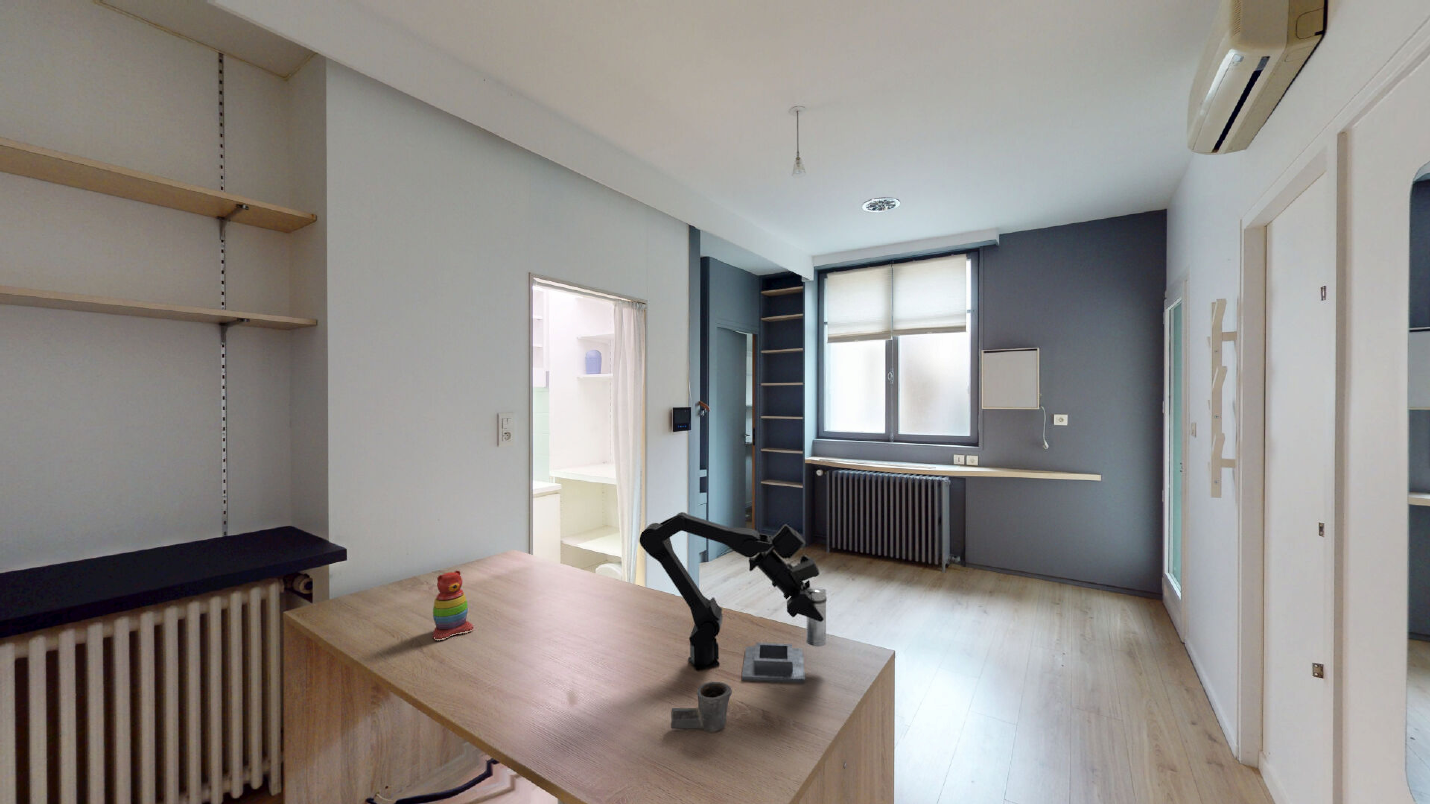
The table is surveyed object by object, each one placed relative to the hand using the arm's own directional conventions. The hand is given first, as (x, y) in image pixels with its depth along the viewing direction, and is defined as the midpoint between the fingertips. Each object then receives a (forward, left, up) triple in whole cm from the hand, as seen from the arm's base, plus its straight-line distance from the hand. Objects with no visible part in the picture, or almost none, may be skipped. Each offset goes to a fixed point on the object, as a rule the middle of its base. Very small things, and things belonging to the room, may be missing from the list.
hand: (821, 616), depth 131 cm
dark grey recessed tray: (-11, +6, -13) cm, 18 cm away
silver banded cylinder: (-1, +1, -7) cm, 7 cm away
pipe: (-36, -10, -13) cm, 40 cm away
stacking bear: (-88, +65, -13) cm, 110 cm away
